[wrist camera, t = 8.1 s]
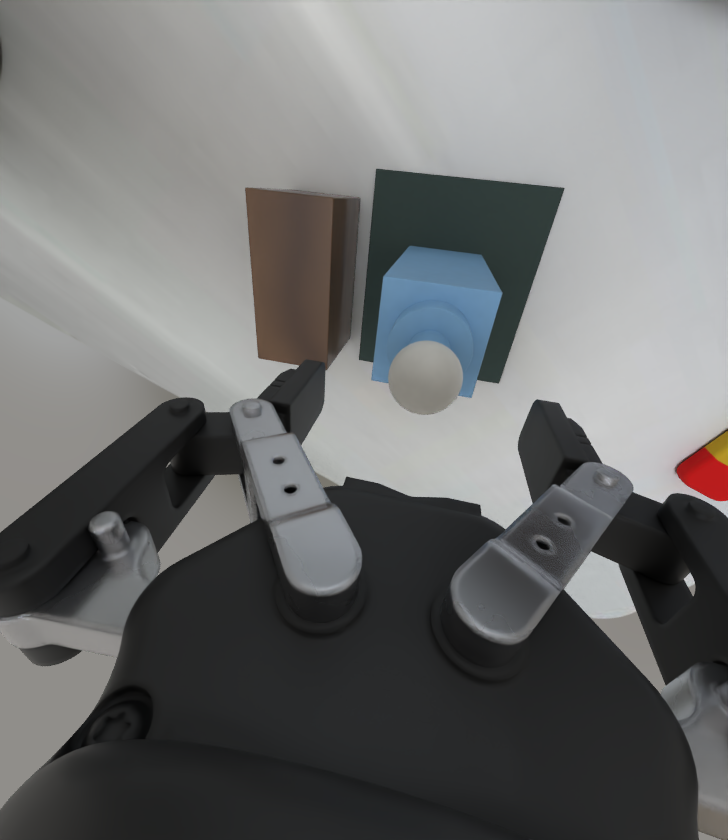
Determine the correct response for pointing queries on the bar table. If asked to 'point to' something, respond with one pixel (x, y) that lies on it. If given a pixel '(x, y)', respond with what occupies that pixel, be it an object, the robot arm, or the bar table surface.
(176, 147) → the bar table surface
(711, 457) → the popsicle
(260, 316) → the block
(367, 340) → the mat
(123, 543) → the robot arm
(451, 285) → the bottle
